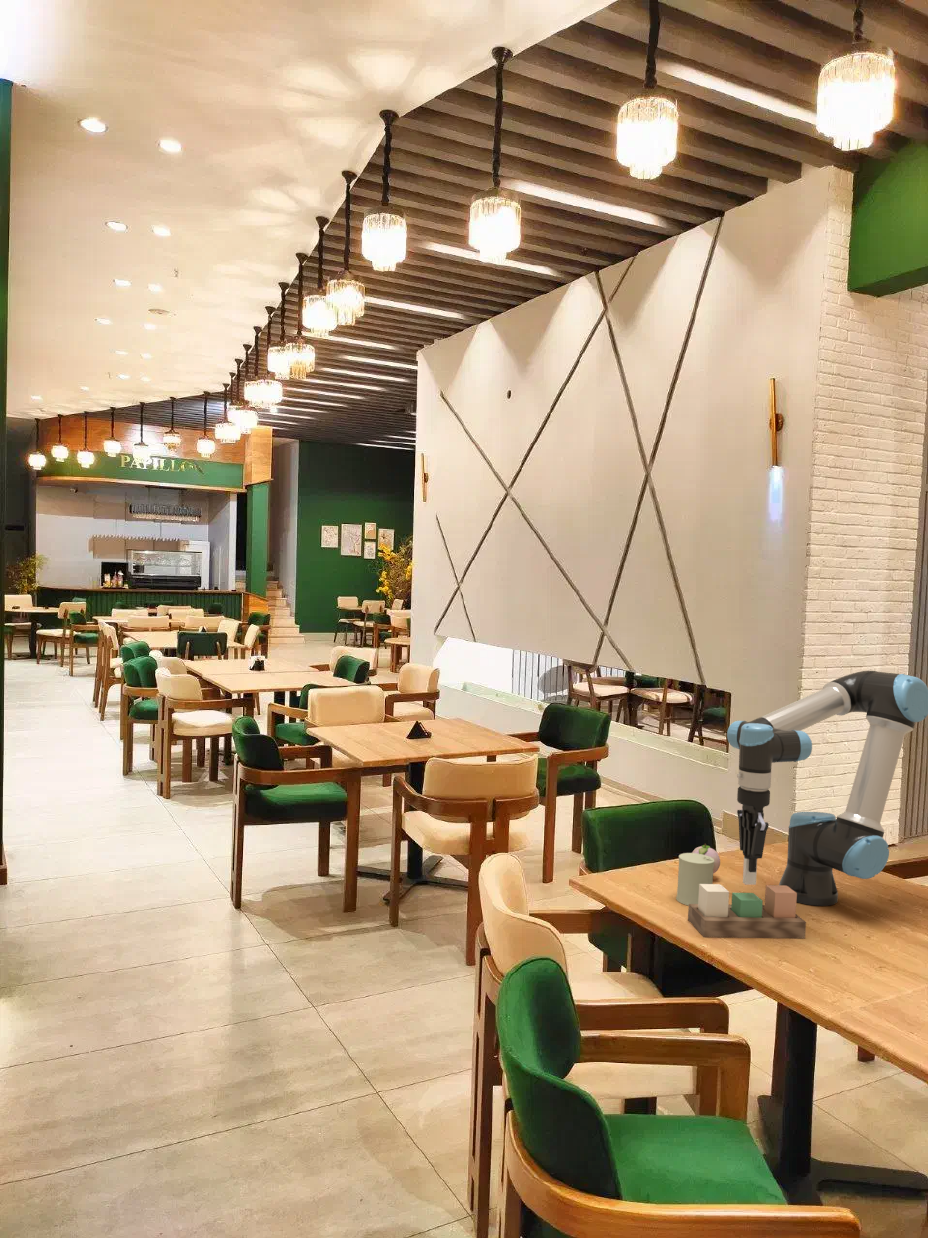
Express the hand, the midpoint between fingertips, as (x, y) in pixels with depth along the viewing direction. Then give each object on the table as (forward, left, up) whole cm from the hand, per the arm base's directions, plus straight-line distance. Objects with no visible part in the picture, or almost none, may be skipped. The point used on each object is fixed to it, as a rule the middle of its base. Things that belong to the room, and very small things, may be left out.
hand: (749, 883), depth 215 cm
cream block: (+9, 0, -8) cm, 12 cm away
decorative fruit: (-4, -38, -11) cm, 40 cm away
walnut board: (0, 0, -11) cm, 11 cm away
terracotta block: (-8, 0, -8) cm, 12 cm away
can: (+6, -19, -11) cm, 23 cm away
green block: (0, 0, -10) cm, 10 cm away
